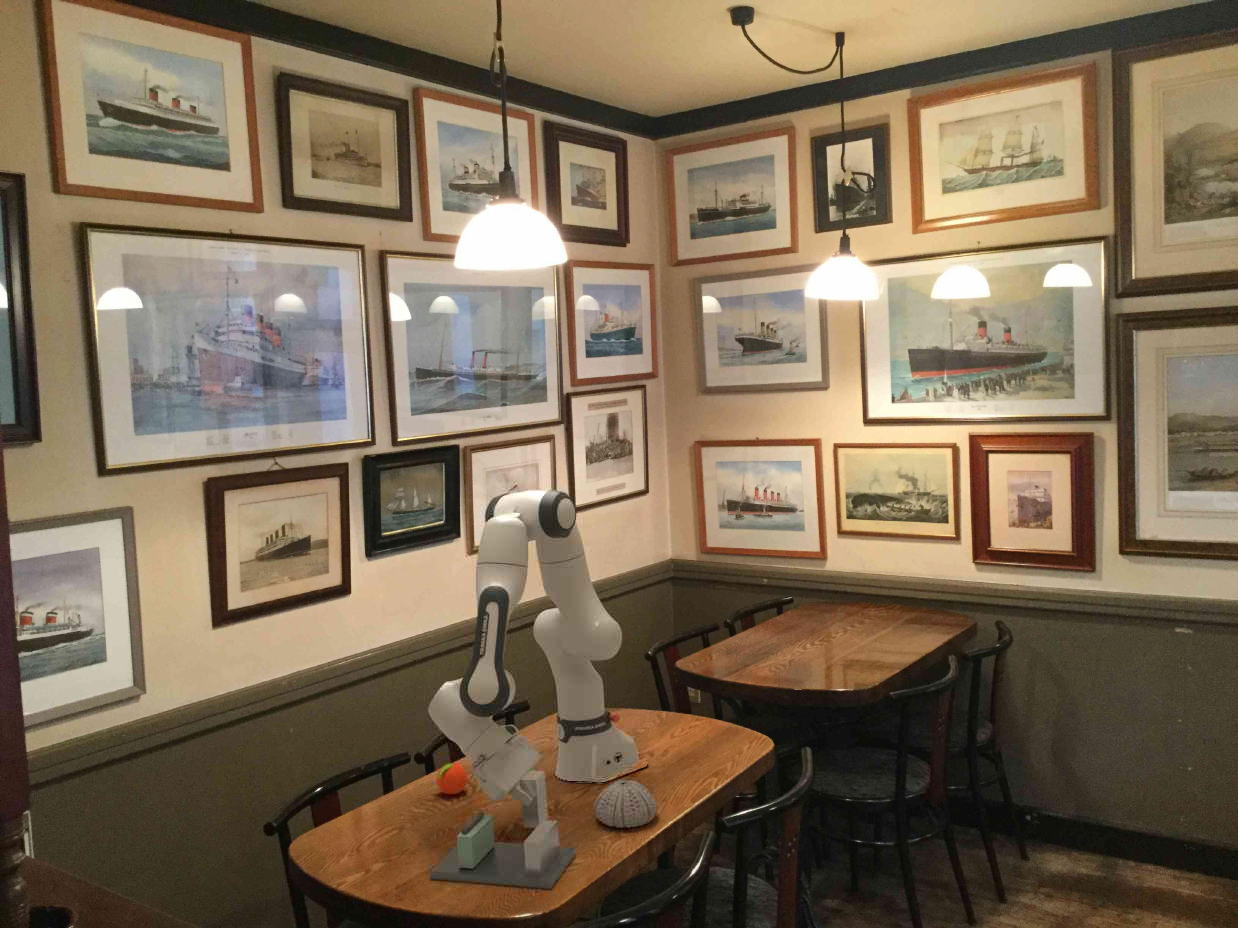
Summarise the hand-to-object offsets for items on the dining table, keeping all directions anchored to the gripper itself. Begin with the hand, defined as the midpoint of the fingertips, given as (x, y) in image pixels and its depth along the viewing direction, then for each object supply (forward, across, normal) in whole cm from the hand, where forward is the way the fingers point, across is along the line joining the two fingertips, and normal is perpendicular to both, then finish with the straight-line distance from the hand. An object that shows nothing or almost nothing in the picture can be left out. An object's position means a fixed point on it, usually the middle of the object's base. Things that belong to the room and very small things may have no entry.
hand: (536, 795), depth 206 cm
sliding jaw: (-1, -16, +8) cm, 18 cm away
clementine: (-14, +16, +25) cm, 33 cm away
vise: (+4, -16, +6) cm, 18 cm away
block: (+4, 0, +4) cm, 6 cm away
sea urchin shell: (+17, +9, -6) cm, 20 cm away
